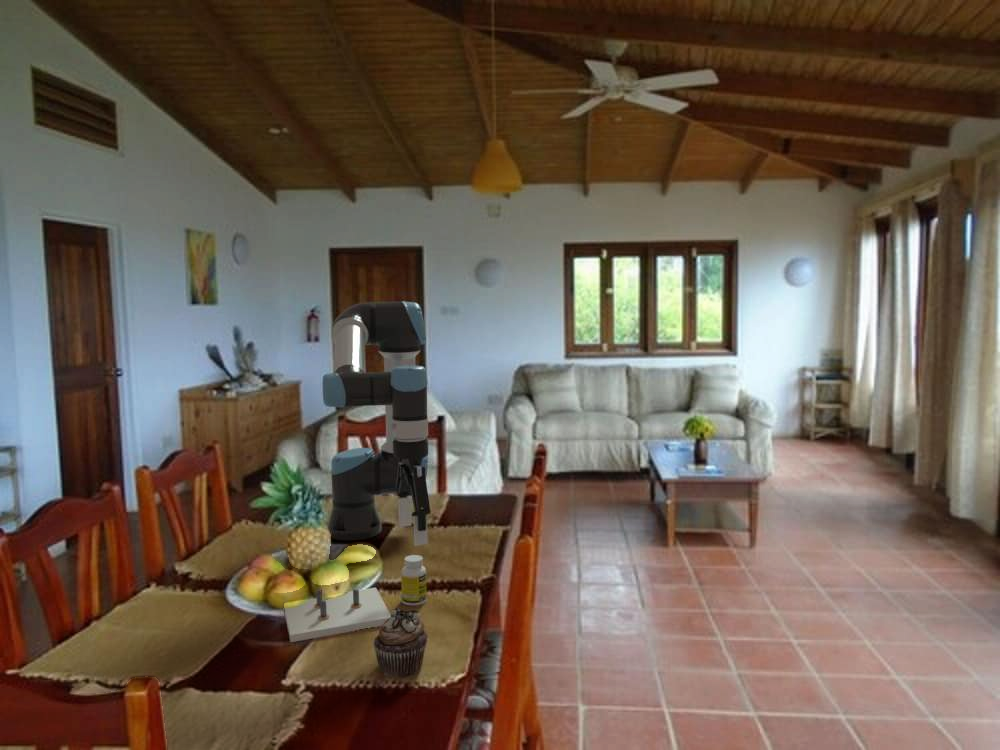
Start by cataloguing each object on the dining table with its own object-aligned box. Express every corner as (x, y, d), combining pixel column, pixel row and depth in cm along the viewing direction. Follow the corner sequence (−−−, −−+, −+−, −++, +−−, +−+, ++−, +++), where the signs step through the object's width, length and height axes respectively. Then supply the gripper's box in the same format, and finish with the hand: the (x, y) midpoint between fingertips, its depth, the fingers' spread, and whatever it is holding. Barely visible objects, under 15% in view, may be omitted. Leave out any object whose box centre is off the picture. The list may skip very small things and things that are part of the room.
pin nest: (283, 608, 154) (282, 586, 153) (376, 593, 161) (375, 572, 161) (290, 642, 139) (289, 617, 139) (392, 624, 146) (391, 600, 146)
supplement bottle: (422, 607, 154) (421, 563, 153) (398, 605, 155) (397, 561, 154) (429, 597, 159) (428, 554, 158) (406, 595, 160) (405, 552, 159)
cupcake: (379, 652, 135) (378, 601, 134) (430, 653, 135) (429, 602, 133) (368, 680, 125) (367, 625, 124) (423, 680, 125) (422, 626, 124)
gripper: (380, 430, 163) (383, 520, 165) (407, 451, 140) (410, 556, 142) (412, 427, 166) (414, 516, 168) (444, 447, 143) (446, 551, 145)
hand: (412, 535), depth 155 cm, fingers open, 13 cm apart
